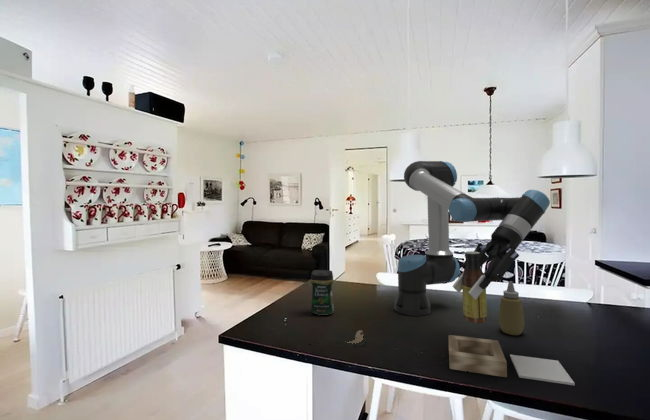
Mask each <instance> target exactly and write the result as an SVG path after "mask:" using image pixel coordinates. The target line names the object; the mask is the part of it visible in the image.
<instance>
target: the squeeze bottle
mask: <svg viewBox="0 0 650 420" xmlns="http://www.w3.org/2000/svg"><path fill="white" fill-rule="evenodd" d="M502 293H503V296H500V301H499V302H500V303H499V312H498V324H499V326H500V329H501V331H502V333H504V334H507V335H511V336H520V335H522V333H523V330H524V328H525V316H524V309H523V300H522V299H521V298H520V297H519V292H518V291H516V289H515V286H514V281H511V280H510V281H508V284H507V288H506V290H503V292H502Z"/></svg>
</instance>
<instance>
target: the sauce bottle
mask: <svg viewBox="0 0 650 420" xmlns="http://www.w3.org/2000/svg"><path fill="white" fill-rule="evenodd" d="M473 251H474V250H473ZM473 251H472V250H469V251H466V252H464V257H465V261H466V268H465V271H464V270H463V271H464V273H463V277H462V290H461V291H462V310H463V311H462V313H463V317H464V320H465V321H467V322H469V323H473V324H484V323H486V322H487V321H488V320H487V315H488V308H487V305H488V304H487V288H486V289H485V290H483V291H482V292H481V294H480V295H479V296H478V298H477V299H474V298H473V297H472V296H471V295H470V294H469V293H468V292H469V291H470V290H471V288H472V287H473V286H474V284H475V283H476V282H477V281H478V279H479V278H480V277H481V275H484V273H485V272H483V270H482V269H481V267H480V253H479V252H473ZM484 276H485V275H484Z"/></svg>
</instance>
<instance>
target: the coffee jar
mask: <svg viewBox="0 0 650 420" xmlns="http://www.w3.org/2000/svg"><path fill="white" fill-rule="evenodd" d="M310 274H311V275H310V283H311V286H312V287H311V288H312V291H311V292H312V294H311V307H310V312H312V313H317V314H330V313H332V312H333V311H335V310H334V297H333V282H334V275H333V271H332V270H328V269H327V270H326V269H314V270H312V271H311V273H310ZM312 313H311V314H312ZM333 313H334V312H333Z"/></svg>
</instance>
